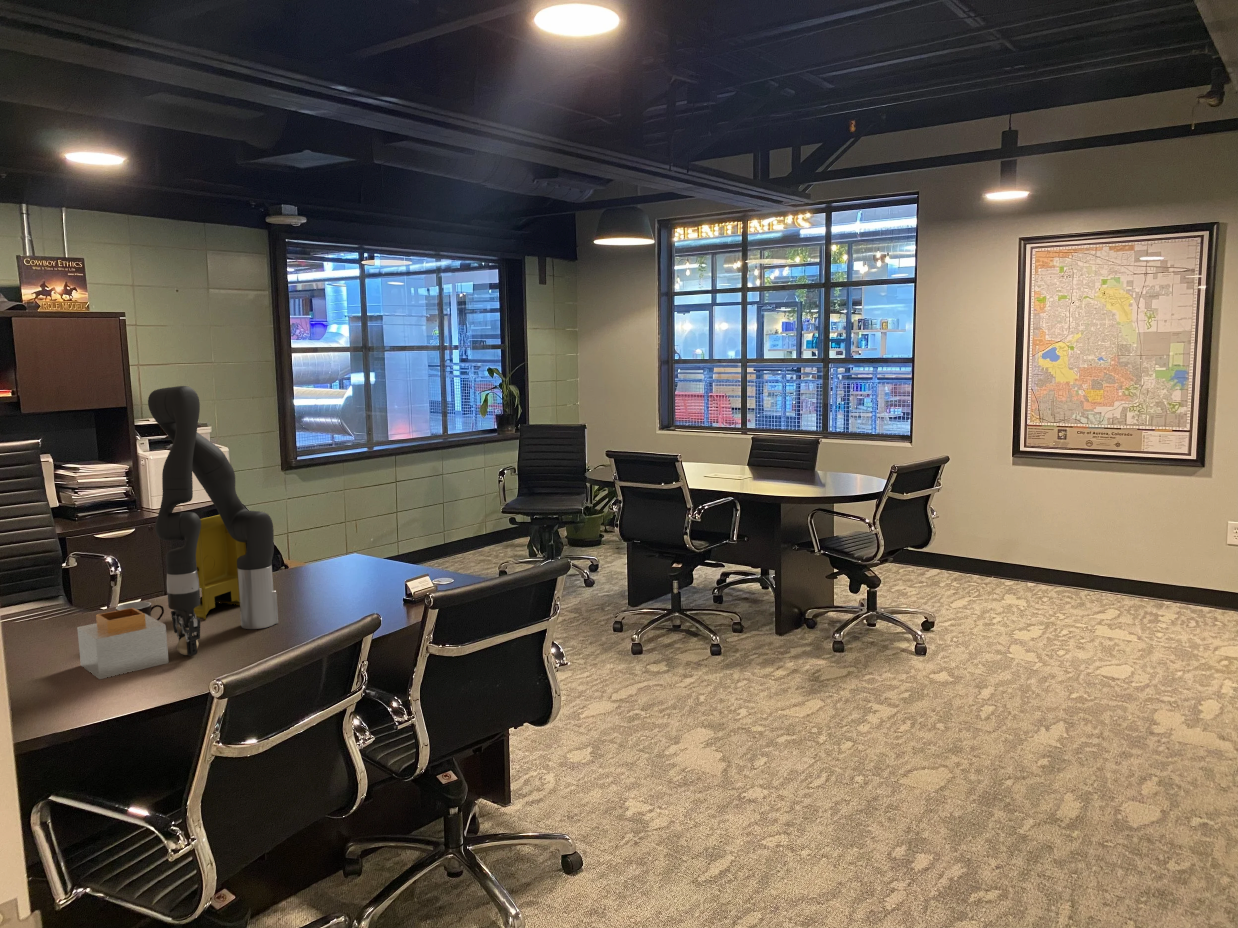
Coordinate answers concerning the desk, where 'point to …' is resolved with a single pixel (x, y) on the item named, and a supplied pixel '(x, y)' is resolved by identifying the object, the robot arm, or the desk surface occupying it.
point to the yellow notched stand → (217, 565)
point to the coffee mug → (141, 607)
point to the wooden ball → (183, 645)
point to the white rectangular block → (122, 643)
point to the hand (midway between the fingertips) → (188, 652)
